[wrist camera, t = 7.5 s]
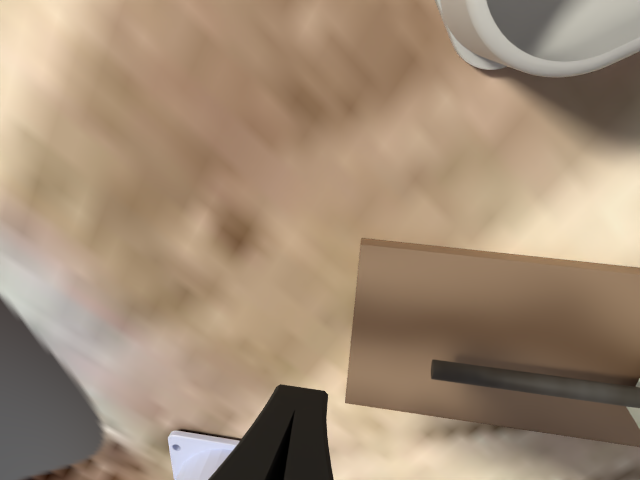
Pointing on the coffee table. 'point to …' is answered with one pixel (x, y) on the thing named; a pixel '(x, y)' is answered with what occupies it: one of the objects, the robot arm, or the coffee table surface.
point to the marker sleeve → (635, 411)
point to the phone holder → (543, 34)
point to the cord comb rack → (497, 339)
